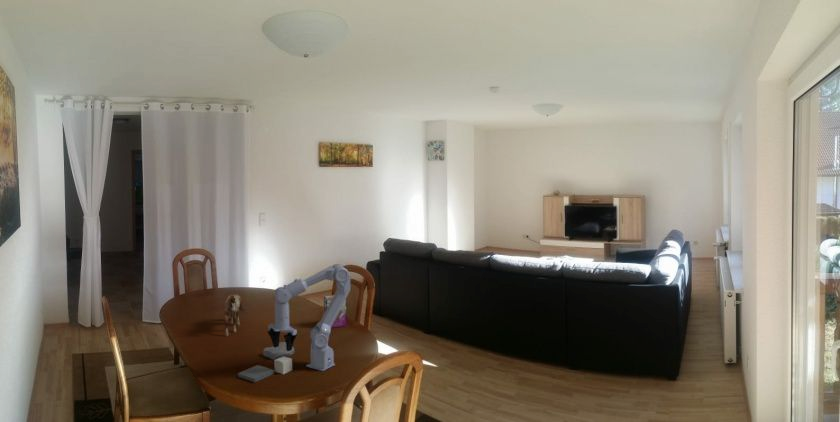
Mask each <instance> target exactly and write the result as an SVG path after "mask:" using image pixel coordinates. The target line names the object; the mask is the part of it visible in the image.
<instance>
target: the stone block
mask: <svg viewBox="0 0 840 422" xmlns="http://www.w3.org/2000/svg"><path fill="white" fill-rule="evenodd" d="M294 353H295V348H294V346H292V350H290V351H287V349H286V341H279V346H278V347H276V348H274V346H271V347H270V346H269V347H265V348H264V349H263V350H262V356H263V357H264V358H269V359H270V360H276V359H278V358H281V357H283V356H284V357H290V356H292V355H293V354H294Z"/></svg>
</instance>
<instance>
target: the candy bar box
mask: <svg viewBox="0 0 840 422" xmlns="http://www.w3.org/2000/svg"><path fill="white" fill-rule="evenodd" d="M334 295H335V294H333V295H326V296H324V295H323V314H324V313H325V312H326V310H327V308H328V306H329V304H330V302H331V300H332V298H333V296H334ZM346 326H347V298H346V299H345V301H344V303H343V305H342V307H341V309H340V311H339V313H338V315H337V317H336V319H335V320H334V322H333V324H332V326H331V329H335V328H340V327H341V328H342V327H346Z"/></svg>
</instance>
